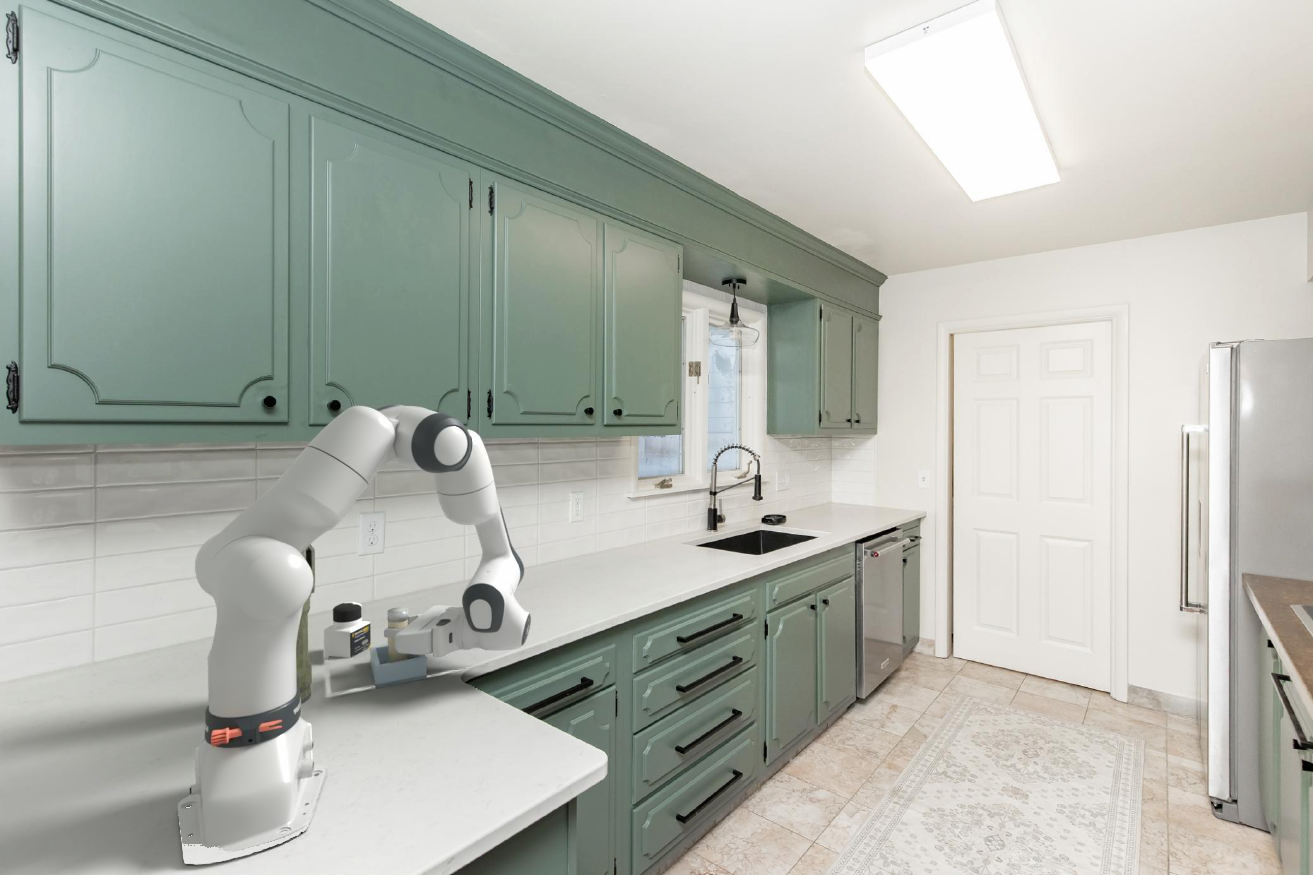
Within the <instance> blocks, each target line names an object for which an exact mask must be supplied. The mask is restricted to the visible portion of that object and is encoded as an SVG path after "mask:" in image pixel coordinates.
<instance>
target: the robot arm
mask: <svg viewBox="0 0 1313 875" xmlns="http://www.w3.org/2000/svg"><path fill="white" fill-rule="evenodd" d="M390 462H393V463H395V464H398V465H400V466H402V467H404V468H407V469H408V468H409V469H412V470H417V471H424V472H427V473H431V474H433V478H434V483H435V489H436V493H437V498H438V502H439V505H440V508H441V510H442V512H443V513H444V516H445V517H446V518H447V519H448V520H449V521H451V522H453V523H455V524H458V525H463V526H473V525H474V527H475V530H476V533H477V534H476V535H477V536H478V540H479V543H480V547H481V551H482V552H481V559H480V562H479V564H478V567H477V569H476V570H475V572H474V574H473V575H472V577H471V579H470V580H469V582H468V584H467V586H466V587H465V590H464V591H463V594H462V598H461V604H462V606H454V605H444V604H443V605H442V604H435V605H432V606H430V607H429V608H428V609H427V610H425V611H424V612H423V613H419V614H418V613H417V614H413V615H408V625H407V626H406V627H405V628H403V629H400V630H399V629H395V627H388V626H387V627H386V628H385V629H384V630H383V637H384V638H387V639H388V638H393V639H394V647H395V651H397V652H399V653H403V654H416V655H425V656H426V655H430V654H432V657H433V658H442V657H445V656H446V655H448V654H449V655H450V654H451V653H453V652H458V651H459V650H462V651H463V650H464V651H466V650H467V651H468V650H473V649H481V650H484V651H512V650H517V649H519V648H522V647H523V646H524V644H525V643H526V641H527V638H528V635H529V632H530V630H531V623H532V620H531V619H532V617H531V614H530V612H529V611H526V610H525V609H523V607H522V606H521V605H520V603H519V602H518V601H517V599H516V597H515V595H514V594H515V592H516V591H517V588H518V587H519V585H520V584H521V582H522V580H523V578H524V575H525V566H524V563H523V561H522V559H521V558H520V556H519V555H518V553H517V552H516V550H515V548H514V547H513V544H512V541H511V538H510V535H509V531H508V528H507V524H506V523H507V522H506V521H505V520H506V519H505V517H504V513H503V510H502V509H503V508H502V506H501V504H500V501H499V498H498V493H497V488H496V483H495V478H494V474H493V473H494V472H493V469H492V465H491V464H492V463H491V462H490V457H489V454H488V452H487V450H486V447H485V444H484V442H483V440H482V438H481V436H480V435H479V434H478V433H477V432H475V431H474V430H471V429H468V428H467V427H466V426H465V424H464V423H463V422H462V421H460V419H458V418H456V417H454V416H452V415H450V414H449V413H448V414H447V413H445V412H437V411H435V410H431V409H428V408H425V407H422V406H415V405H403V404H399V403H398V404H396V403H395V404H389V405H385V406H382V407H379V408H377V409H374V408H372V407H369V406H364V405H353V406H352V407H348V408H347V409H346V410H344V411H343V412H341V413H340V414H339V415H337V416H336V417H335V418H334V419H333V420H331V421H330V422H329V423H328V424H327V425H325V427H324V428H322V429H321V430H320V432H318V433H317V434H316V436H315V437H313V439H311V441H310V442H309V443H308V444H307V446H306V447H305V448H304V449H303V450H302V451H301V452H300V454H299V455H298V456H297V457H296V458H295V459H294V461H293V462H292V463H291V464H290V465H289V466H288V467H287V469H286V470H285V471H284V472H283V473H282V474H281V475H280V477H279V478H277V480H276V481H275V482H274V483H273V484H272V485H271V486H270V487H269V488H268V489H267V491H265V492H264V493H263V494H262V495H261V496H260V497H259V498H257V499H256V500H255V501H254V502H252V503H251V504H250V505H249V506H248V507H247V508H245V509H244V510H243V511H242V512H241V513H240V514H239V515H238V516H236V517H235V518H234V519H233V520H232V521H231V522H230V523H228V525H226V527H224V528H223V529H222V530H221V531H220V532H219V533H217V534H216V535H213V536H212V537H210V538H209V539H207V540H206V541H205V542H204V543H203V544H202V546H201V547H200V548H199V550H198V552H197V554H196V556H195V561H194V570H195V571H194V573H195V577H196V580H197V583H198V584H199V586H200V588H201V589H202V590H203V591H204V592H205V593H207V594H208V595H209V596H211V597H212V598H213V600H214V603H215V606H216V623H215V629H214V635H213V640H212V645H211V648H210V650H209V652H208V654H207V689H208V691H207V692H208V693H207V694H208V696H207V697H208V705H207V707H206V709H205V715H204V721H203V728H204V739H203V740H202V741H201V742H200V743H199V744H198V745H197V746H195V748H194V764H195V766H194V769H195V774H194V775H195V783H194V784H191V785H190V787H189V795H188V796H186V797H184V798H183V799H181V800H180V801H179V802H177V808H178V815H179V822H180V830H181V837H182V843H183V844H188V846H189V844H202V845H200V846H205V847H207V848H209V847H210V848H211V847H214V846H215V847H218V846H219V847H218V848H220V849H221V848H223V849H222V850H224V851H227V852H228V851H230V852H231V851H232V852H233V851H234V852H235V851H239V850H244V849H246V848H250V847H254V846H259V845H261V844H265V843H269V842H272V841H275V840H278V839H281V838H285V837H286V836H289V835H291V834H293V833H295V832H297V831H299V830H300V829H303V828H304V827H305V826H307V824H308V823H309V820H310V818H311V815H312V812H313V810H314V807H315V804H316V801H317V798H318V796H319V793H320V790H321V788H322V789H323V787H322V785H323V786H324V784H323V782H324V783H325V781H324V779H325V780H326V778H325V776H326V777H327V775H328V769H327V766H325V765H323V764H316V763H315V760H314V758H313V757H314V756H313V749H314V740H313V738H312V737H313V736H312V723H310V722H308V721H306V720H305V719H303V718H302V716H301V713H302V712H301V706H302V704H301V697H300V691H299V689H298V688H297V682H296V643H297V635H298V629H299V624H300V619H301V615H302V610H303V605H304V603H305V602H306V600H307V599H308V597H309V595H310V593H311V590H312V587H313V574H312V570H311V568H310V566H309V564H308V563H307V561H306V560H305V558H304V557H303V556H302V554H301V552H302V551H303V550H304V549H305V548H306V547H308V546H309V545H310V544H311V545H312V543H314V542H315V541H316V540H317V539H318V538H320V537H321V536H323V535H324V534H325V533H327V532H328V531H331V530H333V529H334V528H335V527H336V526H338V525H339V524H340V523H341V521H342V520H343V518H345V516H346V514H347V513H348V512H349V511H350V510H351V508H352V507H353V505H355V503H356V501H358V500H359V498H360V497H361V496H362V494H363V493H364V492H365V490H366V489H367V487H368V486H369V485H370V484H371V483H372V481H373V479H374V478H375V477H376V476H377V474H378V472H379V471H380V470H381V469H382V468H383V467H384V466H385V465H386V464H388V463H390ZM326 774H327V775H326ZM321 791H322V790H321ZM320 794H321V793H320ZM319 797H320V796H319ZM190 806H191V807H190ZM186 807H190V808H186ZM178 815H177V816H178ZM283 831H287V833H285V834H280V833H281V832H283ZM191 835H192V836H191ZM189 836H190V837H189ZM184 846H185V845H184ZM190 846H192V845H190ZM194 846H195V845H194ZM220 849H219V850H220ZM230 852H229V853H230Z"/></svg>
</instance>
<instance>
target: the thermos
mask: <svg viewBox="0 0 1313 875" xmlns="http://www.w3.org/2000/svg"><path fill="white" fill-rule="evenodd" d="M315 552H316V551H315V548H314V547H313V545H312V543H311V544H310V545H309V546H308V547H306V548H305V549H304V550H303V551H302V552H301V554H302V556H303V557H304V558H305V560H306V561H307V563H308V564H309V566H310V568H311V570H312V574H313V587H312V590H311V593H310V595H309V597H308V599H307V600H306V602H305V603H304V605H303V610H302V615H301V619H300V624H299V629H298V635H297V643H296V682H297V688H298V689H299V691H300V697H301V705H302V704H303V703H305V702H308V701H309V699H310V698H311V697H312V691H311V689H312V688H311V686H312V683H313V682H312V680H313V679H312V678H313V677H312V676H313V673H312V672H313V671H312V670H313V669H312V668H313V666H312V660H311V659H310V656H309V621H308V620H309V618H308V615H309V613H310V610H311V598H312V594H314V593H315V589H316V564H315V563H316V562H315V560H316V559H315V557H316V556H315V554H316V553H315Z"/></svg>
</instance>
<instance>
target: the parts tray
mask: <svg viewBox="0 0 1313 875" xmlns="http://www.w3.org/2000/svg"><path fill="white" fill-rule="evenodd" d="M369 649H370V650H369V651H370V653H369V654H370V655H369V656H370V658H369V660H370V667H371V671H372V674H373V678H374V687H375V689H379V688H384V687H385V688H386V687H390V686H395V685H401V684H406V683H409V682H410V683H411V682H416V681H421V680H425V679H426V680H427V657H426V655H416V654H408V660H402V661H397V662H391V663H388V644H382V645H376V646H371V647H370V648H369Z"/></svg>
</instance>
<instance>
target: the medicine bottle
mask: <svg viewBox="0 0 1313 875" xmlns="http://www.w3.org/2000/svg"><path fill="white" fill-rule="evenodd" d="M362 608H363V605H362V604H361V603H360V602H359V603H358V602H355V601H351V602H350V601H348V602H343V603H339V604H337V605H335V606H334V607H333V609H332V625H330V626H328V627H326V628H324V629H323V631H324V632H323V637H324V638H323V640H324V641H323V645H324V646H323V647H324V650H323V651H324V653H323V654H324V655H323V656H324V657H323V658H324V660H330V657H338V658H346V659H352V658H355V657H356V656H357V655H359V654H361V653H363V652H364V651H366V650H368V649H370V647H372V645H371V644H372V642H371V640H372V639H371V621H365V620H363V616H362V615H363V611H362V610H363V609H362Z"/></svg>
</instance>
